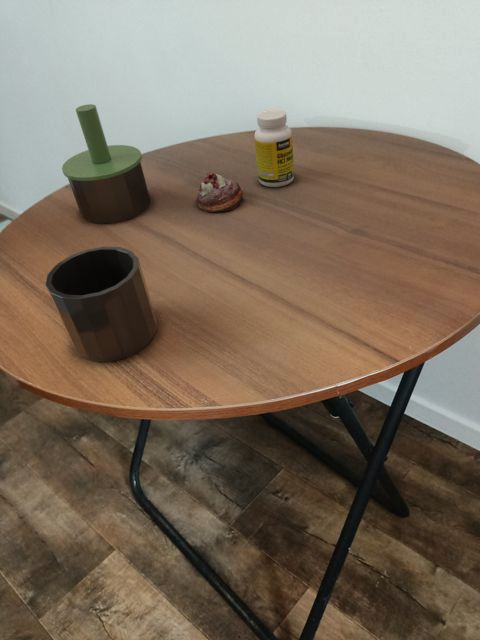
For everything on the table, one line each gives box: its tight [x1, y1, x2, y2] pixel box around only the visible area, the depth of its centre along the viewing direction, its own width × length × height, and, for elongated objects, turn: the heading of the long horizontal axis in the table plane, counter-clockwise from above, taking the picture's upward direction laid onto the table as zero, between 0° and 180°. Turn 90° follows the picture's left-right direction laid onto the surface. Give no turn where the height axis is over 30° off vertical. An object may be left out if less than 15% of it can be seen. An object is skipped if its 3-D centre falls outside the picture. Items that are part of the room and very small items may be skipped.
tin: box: [67, 161, 151, 225], centre depth 86 cm, size 12×12×8 cm
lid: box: [61, 103, 143, 181], centre depth 81 cm, size 13×13×9 cm
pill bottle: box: [253, 109, 295, 188], centre depth 86 cm, size 6×6×11 cm
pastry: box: [196, 171, 244, 213], centre depth 84 cm, size 8×8×5 cm
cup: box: [45, 246, 158, 363], centre depth 60 cm, size 10×10×9 cm
